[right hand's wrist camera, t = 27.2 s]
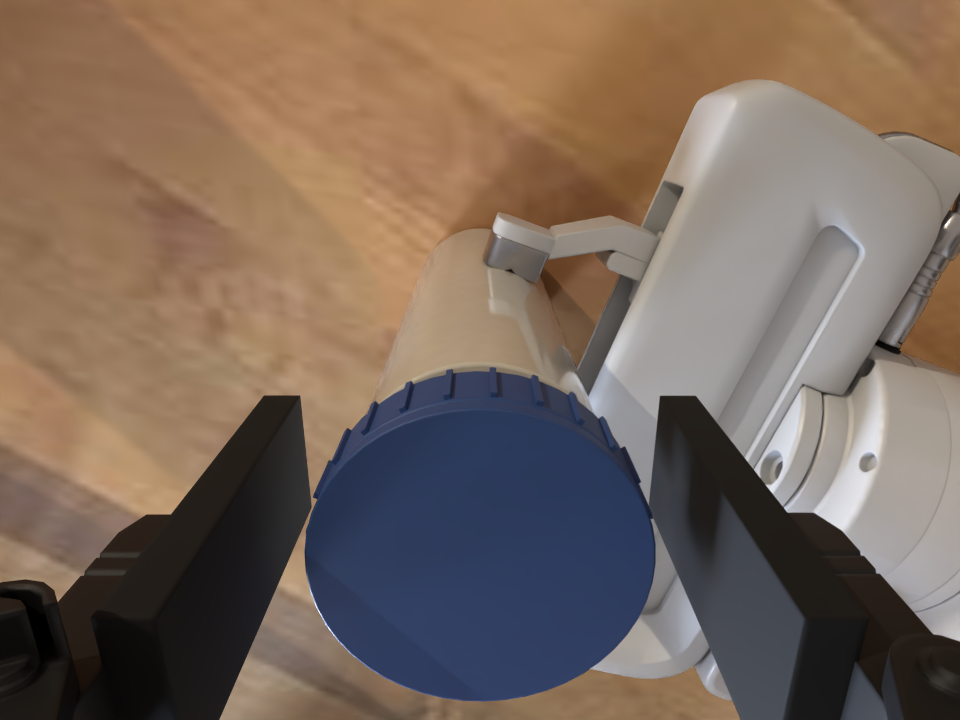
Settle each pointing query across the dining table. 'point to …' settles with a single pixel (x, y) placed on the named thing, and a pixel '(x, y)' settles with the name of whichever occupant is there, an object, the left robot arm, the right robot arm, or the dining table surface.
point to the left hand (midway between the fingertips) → (454, 331)
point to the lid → (480, 538)
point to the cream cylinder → (477, 324)
